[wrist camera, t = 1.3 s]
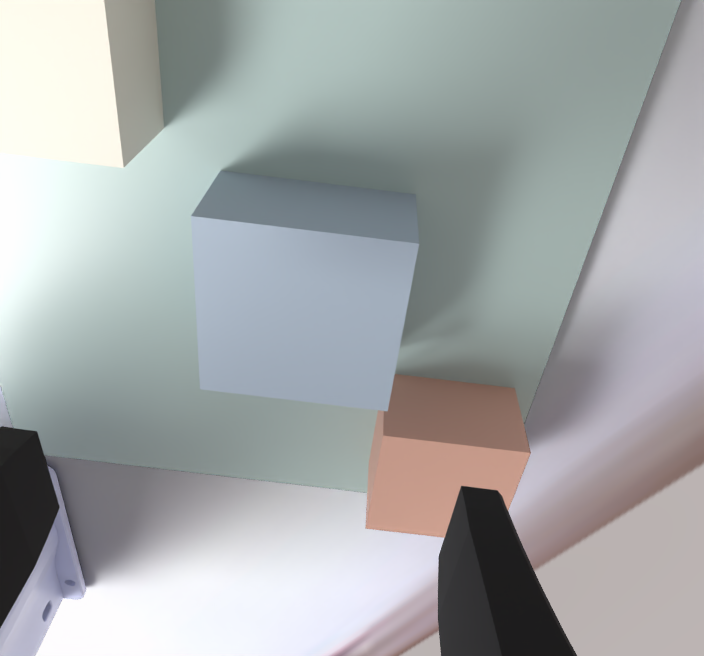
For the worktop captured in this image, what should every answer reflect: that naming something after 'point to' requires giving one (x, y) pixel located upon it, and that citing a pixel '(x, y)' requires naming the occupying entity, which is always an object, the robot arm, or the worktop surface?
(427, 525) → the brick
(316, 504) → the worktop surface
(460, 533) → the robot arm
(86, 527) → the worktop surface
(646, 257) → the worktop surface
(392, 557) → the worktop surface
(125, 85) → the brick
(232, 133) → the baseplate
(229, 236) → the brick
